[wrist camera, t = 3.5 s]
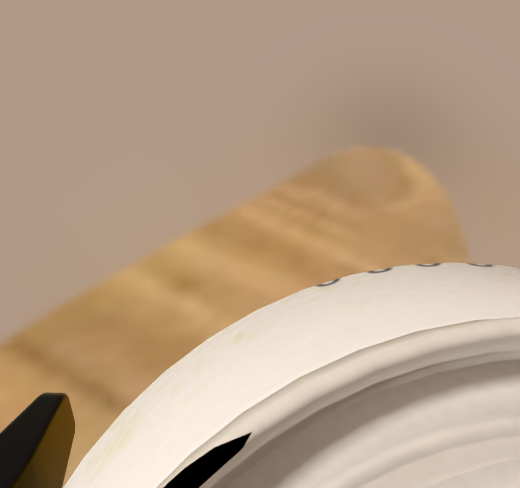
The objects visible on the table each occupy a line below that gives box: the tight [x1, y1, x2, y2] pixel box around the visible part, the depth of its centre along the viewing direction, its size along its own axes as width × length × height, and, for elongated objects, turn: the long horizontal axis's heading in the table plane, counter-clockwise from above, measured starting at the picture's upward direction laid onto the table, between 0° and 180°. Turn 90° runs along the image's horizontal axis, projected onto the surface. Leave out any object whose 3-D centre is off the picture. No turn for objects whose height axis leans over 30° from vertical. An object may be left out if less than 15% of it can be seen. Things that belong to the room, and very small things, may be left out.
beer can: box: [64, 263, 520, 488], centre depth 9 cm, size 6×6×15 cm
